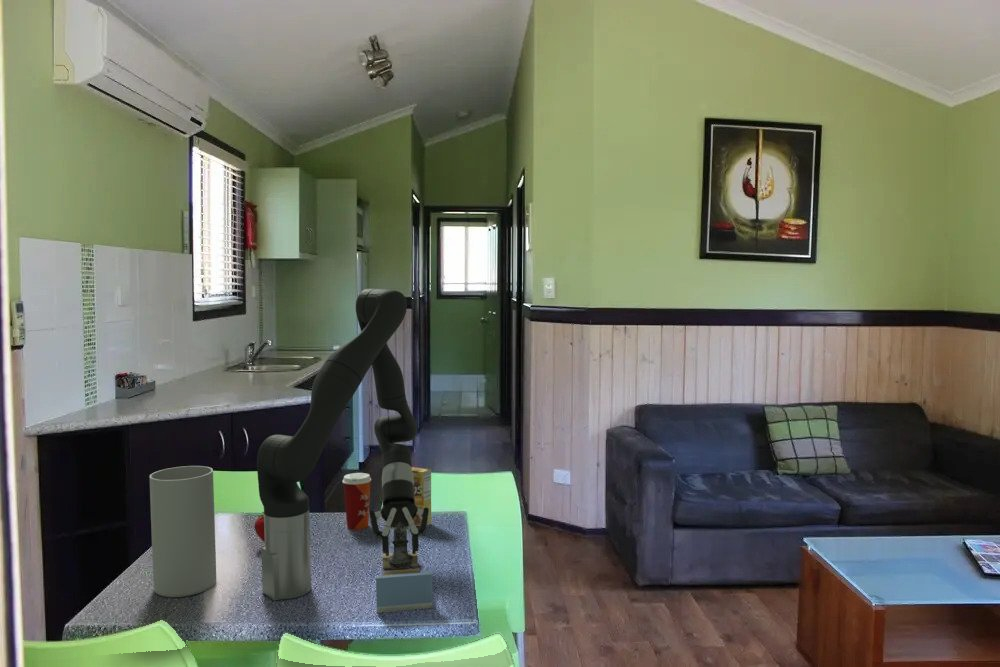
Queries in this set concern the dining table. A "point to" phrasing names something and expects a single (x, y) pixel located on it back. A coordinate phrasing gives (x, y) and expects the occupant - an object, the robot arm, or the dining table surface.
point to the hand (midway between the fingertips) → (400, 553)
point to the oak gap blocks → (396, 572)
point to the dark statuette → (400, 550)
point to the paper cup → (357, 500)
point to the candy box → (422, 492)
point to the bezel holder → (404, 592)
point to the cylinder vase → (183, 530)
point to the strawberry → (260, 527)
